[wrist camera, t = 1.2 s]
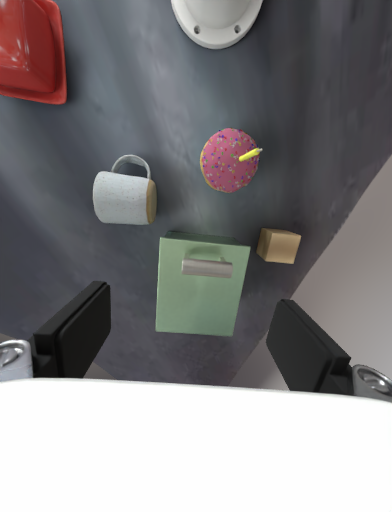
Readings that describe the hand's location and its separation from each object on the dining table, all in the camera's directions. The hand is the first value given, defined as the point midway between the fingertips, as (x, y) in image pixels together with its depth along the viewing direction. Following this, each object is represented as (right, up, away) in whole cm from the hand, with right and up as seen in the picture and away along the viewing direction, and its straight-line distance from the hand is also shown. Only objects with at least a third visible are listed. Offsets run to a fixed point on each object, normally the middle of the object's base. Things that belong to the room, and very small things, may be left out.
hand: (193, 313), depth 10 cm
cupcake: (+5, +19, +21) cm, 29 cm away
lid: (+1, -2, +19) cm, 19 cm away
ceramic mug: (-11, +15, +22) cm, 29 cm away
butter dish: (-24, +32, +16) cm, 43 cm away
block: (+15, +6, +26) cm, 30 cm away
